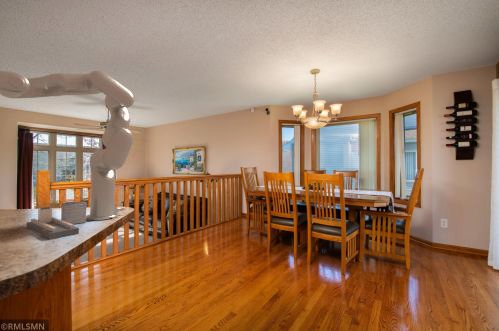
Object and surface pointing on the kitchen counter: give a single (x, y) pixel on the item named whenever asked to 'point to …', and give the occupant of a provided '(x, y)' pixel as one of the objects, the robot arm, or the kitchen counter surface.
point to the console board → (52, 228)
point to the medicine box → (74, 212)
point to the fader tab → (45, 214)
